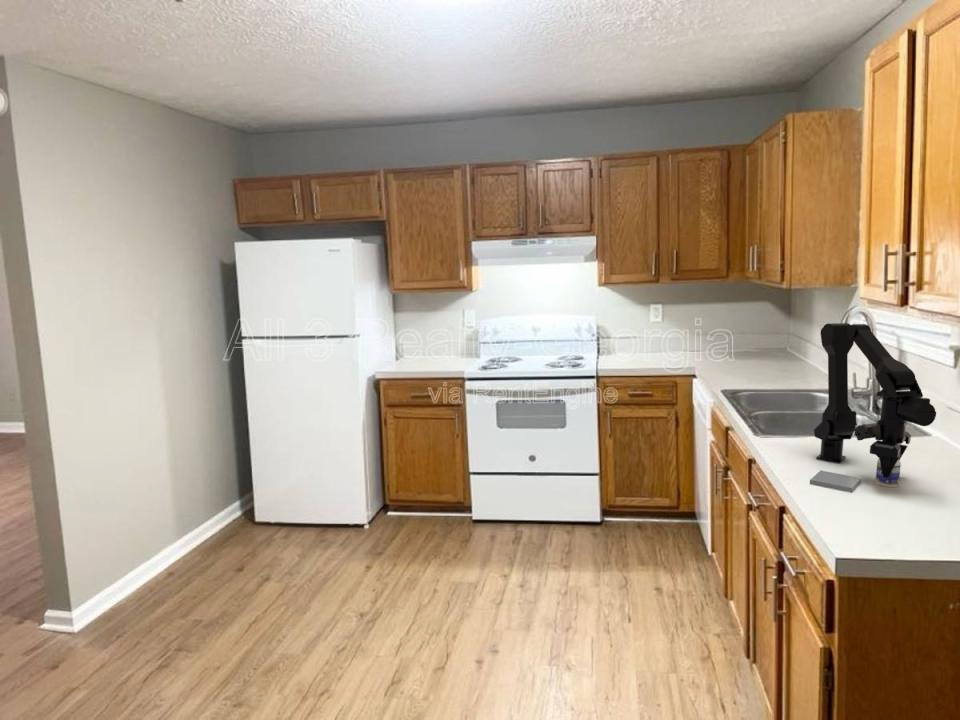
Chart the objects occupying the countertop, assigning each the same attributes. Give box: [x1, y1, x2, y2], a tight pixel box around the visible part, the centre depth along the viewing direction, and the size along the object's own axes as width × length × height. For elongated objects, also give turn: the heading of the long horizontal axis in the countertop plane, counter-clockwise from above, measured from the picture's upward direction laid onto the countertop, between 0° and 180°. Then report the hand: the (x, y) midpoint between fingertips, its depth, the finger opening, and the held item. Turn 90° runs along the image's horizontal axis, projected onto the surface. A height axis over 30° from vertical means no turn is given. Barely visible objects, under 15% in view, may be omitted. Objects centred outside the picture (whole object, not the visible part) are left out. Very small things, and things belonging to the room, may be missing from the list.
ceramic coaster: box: [809, 470, 862, 494], centre depth 186 cm, size 10×10×1 cm
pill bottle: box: [875, 458, 902, 488], centre depth 184 cm, size 5×5×9 cm
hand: (887, 474), depth 185 cm, fingers closed on pill bottle, 5 cm apart
